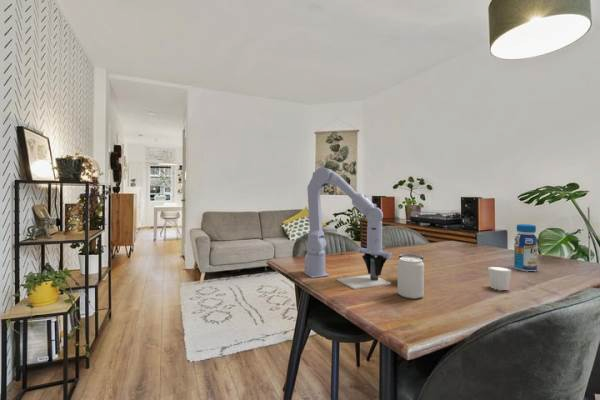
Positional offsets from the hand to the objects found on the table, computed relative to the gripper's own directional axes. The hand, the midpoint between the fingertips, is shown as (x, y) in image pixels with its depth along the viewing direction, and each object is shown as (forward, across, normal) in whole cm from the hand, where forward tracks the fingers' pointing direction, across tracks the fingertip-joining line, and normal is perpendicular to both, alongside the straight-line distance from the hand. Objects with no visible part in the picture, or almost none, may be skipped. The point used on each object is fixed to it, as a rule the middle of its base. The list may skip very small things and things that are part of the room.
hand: (374, 274), depth 114 cm
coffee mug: (+3, +8, +11) cm, 14 cm away
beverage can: (+3, +18, -4) cm, 18 cm away
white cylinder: (+3, +33, +28) cm, 43 cm away
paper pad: (+2, -1, -5) cm, 6 cm away
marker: (+2, 0, 0) cm, 2 cm away
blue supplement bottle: (+3, +32, +67) cm, 74 cm away
